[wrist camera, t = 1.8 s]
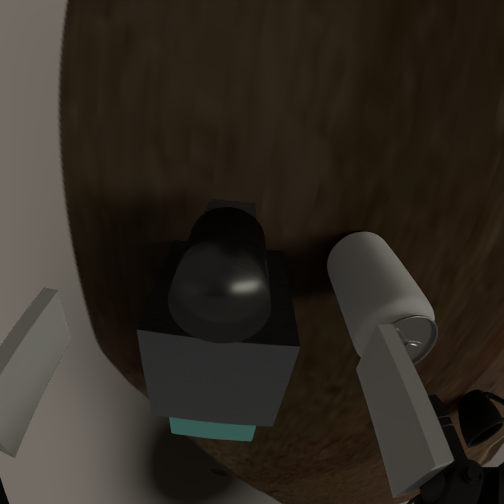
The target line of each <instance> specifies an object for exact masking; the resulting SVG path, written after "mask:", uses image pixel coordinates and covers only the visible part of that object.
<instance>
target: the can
mask: <svg viewBox="0 0 504 504" xmlns="http://www.w3.org/2000/svg"><path fill="white" fill-rule="evenodd" d="M327 270H328V274H329V277H330V280H331V283H332V286H333V288H334V291H335V294H336V297H337V299H338V302H339V305H340V308H341V311H342V313H343V316H344V319H345V322H346V325H347V327H348V330H349V333H350V336H351V339H352V342H353V344H354V347H355V349H356V351H357V353H358V354H359V356H360V357H361V358H362V356H363V354H364V352H365V350H366V348H367V345H368V343H369V341H370V339H371V337H372V335H373V332H374V330H375V328H376V326H377V324H393V325H394V327H395V329H396V331H397V333H398V335H399V337H400V339H401V341H402V343H403V345H404V347H405V349H406V351H407V353H408V355H409V357H410V359H411V361H412V363H413V365H415V364H417V363H418V362H420V361H421V360H422V359H423V358H424V357H425V356H426V355H427V354H428V353H429V352H430V351H431V349H432V348H433V346H434V345H435V343H436V340H437V337H438V328H437V325H436V323H435V322H434V312H433V309H432V307H431V305H430V303H429V302H428V300H427V299H426V297H425V296H424V294H423V293H422V291H421V290H420V288H419V287H418V285H417V284H416V282H415V281H414V280H413V278H412V277H411V275H410V274H409V273H408V271H407V270H406V268H405V267H404V266H403V264H402V263H401V262H400V260H399V259H398V258H397V256H396V255H395V254H394V252H393V251H392V250H391V249H390V247H389V246H388V245H387V244H386V242H385V241H384V240H383V239H382V238H381V237H380V236H378V235H376V234H374V233H370V232H357V233H353V234H350V235H348V236H346V237H344V238H343V239H342V240H340V241H339V242H338V243H337V244H336V245H335V246H334V248H333V249H332V251H331V252H330V255H329V257H328V261H327Z"/></svg>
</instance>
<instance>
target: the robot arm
mask: <svg viewBox="0 0 504 504" xmlns="http://www.w3.org/2000/svg"><path fill="white" fill-rule="evenodd" d="M70 341H71V335H70V332H69V328H68V325H67V321H66V318H65V314H64V311H63V307H62V303H61V299H60V296H59V292H58V290H53V289H48V288H44V289H43V290H42V291H41V292H40V294H39V295H38V296H37V297H36V299H35V300H34V301H33V302H32V304H31V305H30V306H29V307H28V309H27V310H26V311H25V313H24V314H23V315H22V317H21V318H20V319H19V321H18V322H17V323H16V325H15V326H14V327H13V329H12V330H11V331H10V333H9V334H8V336H7V337H6V339H5V340H4V341H3V343H2V344H1V346H0V451H2V452H4V453H6V454H7V455H9V456H11V457H14V458H15V456H16V454H17V451H18V449H19V447H20V444H21V442H22V439H23V437H24V434H25V432H26V430H27V428H28V425H29V423H30V420H31V418H32V416H33V414H34V412H35V410H36V408H37V406H38V403H39V401H40V399H41V397H42V395H43V393H44V391H45V389H46V387H47V385H48V383H49V381H50V379H51V377H52V375H53V373H54V371H55V369H56V367H57V365H58V363H59V362H60V360H61V358H62V356H63V354H64V352H65V350H66V349H67V347H68V345H69V343H70ZM356 370H357V373H358V376H359V379H360V382H361V385H362V389H363V392H364V395H365V398H366V402H367V405H368V408H369V412H370V415H371V418H372V422H373V425H374V429H375V432H376V436H377V439H378V443H379V446H380V450H381V454H382V457H383V461H384V465H385V469H386V472H387V476H388V480H389V484H390V488H391V492H392V496H393V498H396V497H400V496H404V495H408V494H411V493H412V492H414V491H415V490H417V489H418V488H420V492H421V493H420V494H419V495H417V496H416V497H414V498H413V499H411V500H410V501H409V502H408V503H407V504H412V503H414V502H415V503H414V504H504V462H503V463H502V464H501V465H499V466H498V467H481V466H480V464H479V463H477V462H476V461H474V460H468V458H467V456H466V455H465V452H464V450H463V447H462V445H461V442H460V440H459V438H458V435H457V433H456V430H455V428H454V426H452V421H451V419H450V417H448V415H449V414H448V412H447V410H446V408H445V406H444V404H443V403H442V401H441V400H440V399H439V398H438V397H437V396H436V395H428V396H427V393H426V391H425V389H424V387H423V384H422V382H421V380H420V378H419V376H418V374H417V372H416V369H415V367H414V365H413V363H412V361H411V359H410V357H409V355H408V353H407V351H406V349H405V347H404V345H403V343H402V341H401V339H400V337H399V335H398V333H397V331H396V329H395V327H394V325H393V324H377V326H376V328H375V330H374V332H373V335H372V337H371V339H370V341H369V343H368V345H367V348H366V350H365V352H364V354H363V356H362V358H361V360H360V362H359V364H358V366H357V368H356ZM0 504H9V502H8V499H7V496H6V494H5V491H4V488H3V485H2V482H1V479H0Z"/></svg>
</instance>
